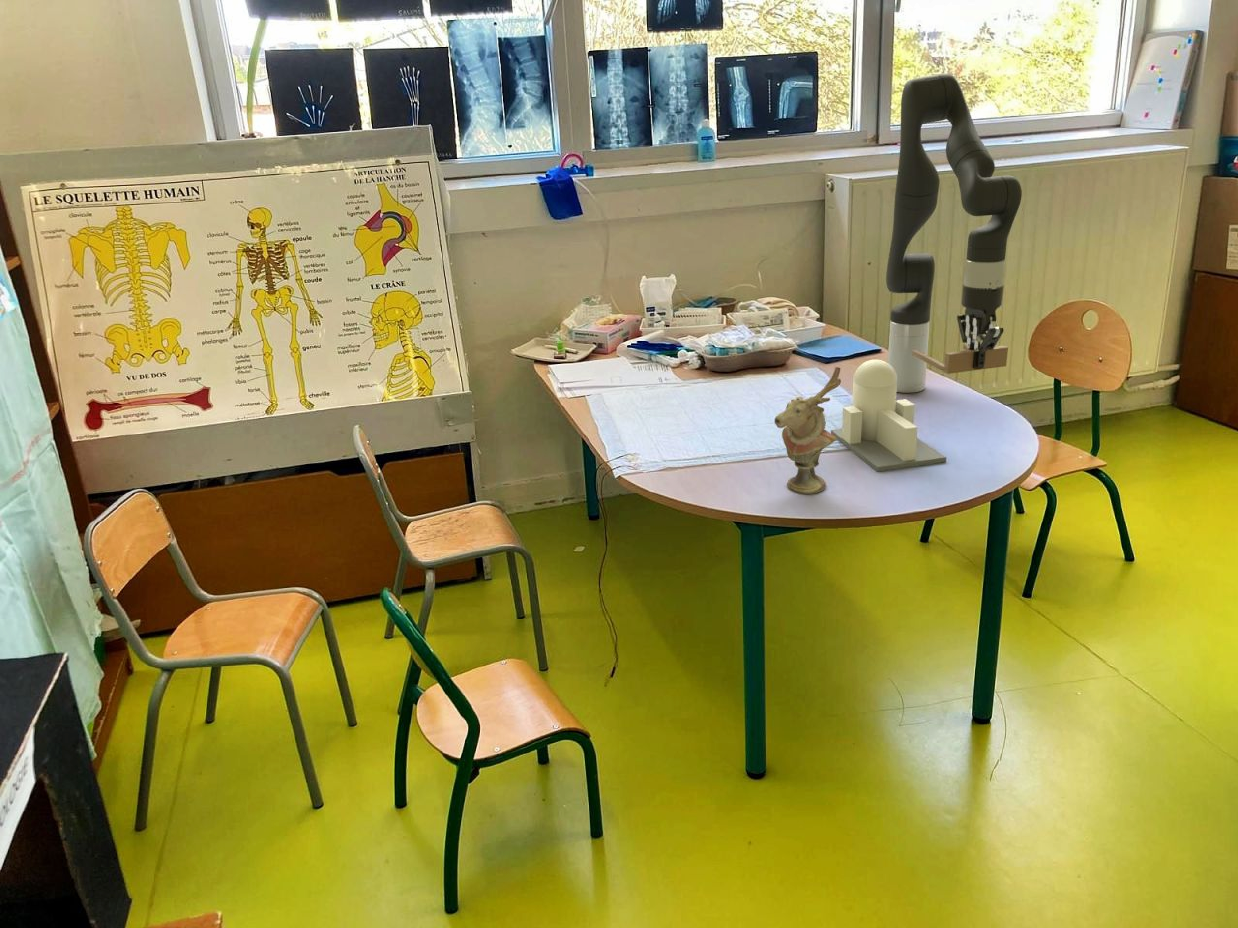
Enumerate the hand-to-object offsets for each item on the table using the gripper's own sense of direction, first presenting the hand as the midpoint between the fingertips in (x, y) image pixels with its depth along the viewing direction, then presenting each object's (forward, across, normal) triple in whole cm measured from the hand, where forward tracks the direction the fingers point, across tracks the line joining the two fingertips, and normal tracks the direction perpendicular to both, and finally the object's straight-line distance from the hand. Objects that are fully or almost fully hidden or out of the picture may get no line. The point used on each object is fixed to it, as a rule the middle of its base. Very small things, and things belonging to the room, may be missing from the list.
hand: (975, 367), depth 188 cm
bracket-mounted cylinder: (+17, -5, -16) cm, 24 cm away
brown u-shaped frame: (0, -7, 0) cm, 7 cm away
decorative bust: (+17, +8, -41) cm, 45 cm away
